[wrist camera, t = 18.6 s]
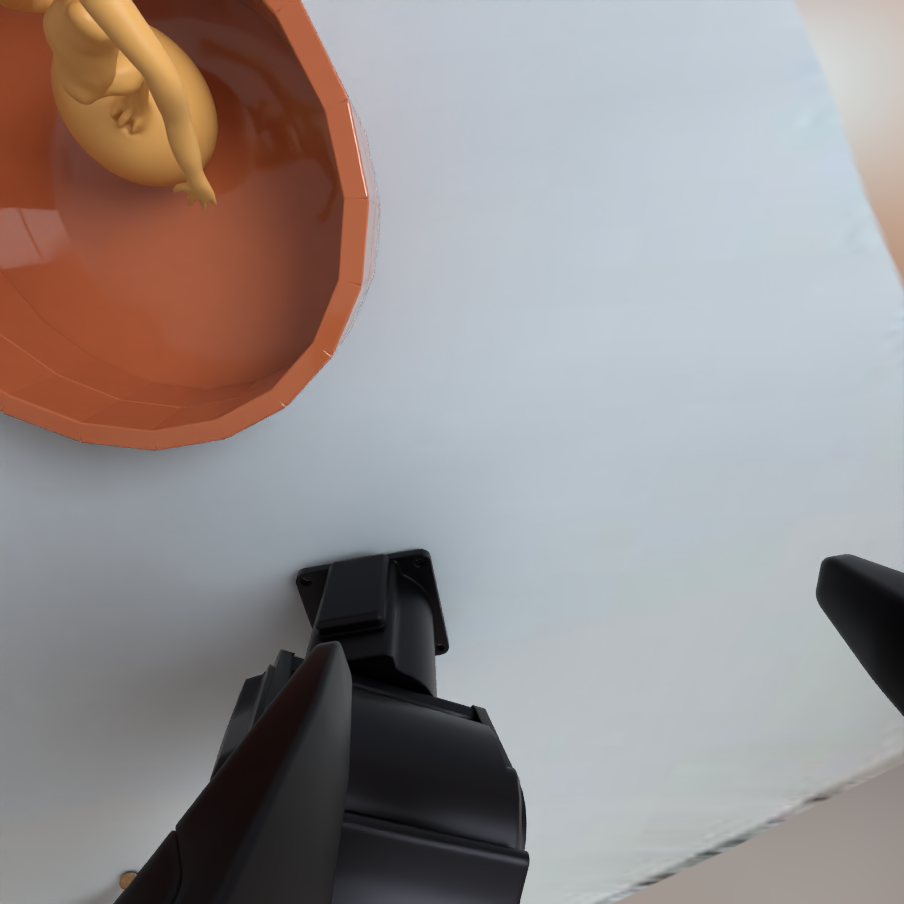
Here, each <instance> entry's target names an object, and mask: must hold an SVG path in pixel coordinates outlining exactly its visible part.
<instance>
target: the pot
mask: <svg viewBox="0 0 904 904" xmlns="http://www.w3.org/2000/svg"><path fill="white" fill-rule="evenodd" d="M132 2H133V3H134V4H135V6H136V7H137V9H138V10H139V12H140V13H141V15H142V16H143V18H144V19H145V21H146V22H147V24H148V25H150V26H152V27H154V28H156V29H157V30H159V31H160V32H162V33H163V34H165V35H166V36H168V37H169V38H170V39H171V40H173V41H174V42H175V43H176V44H177V45H178V46H179V47H180V48H182V49H183V51H184V52H185V53H186V54H187V55H188V56H189V57H190V58H191V60H192V61H193V62H194V63H195V65H196V66H197V68H198V69H199V71H200V72H201V74H202V76H203V77H204V79H205V81H206V83H207V85H208V87H209V90H210V92H211V95H212V97H213V100H214V104H215V108H216V113H217V121H218V134H217V141H216V146H215V149H214V152H213V155H212V157H211V159H210V160H209V162H208V164H207V165H206V166H205V168H204V169H203V172H204V174H205V176H206V178H207V180H208V182H209V184H210V186H211V188H212V189H213V191H214V194H215V199H216V202H217V206H216V207H215V206H214V205H213V204H212V203H211V202H207V206H206V209H204V210H203V209H202V208H201V205H200V201H194V203H193V204H192V205H191V206H188V204H187V203H188V193H186V192H184V191H179V192H174V191H173V189H174V187H175V186H176V185H174V186H168V187H153V186H146V185H141V184H137V183H134V182H131V181H128V180H126V179H124V178H121V177H119V176H117V175H116V174H114V173H112V172H110V171H109V170H107V169H106V168H104V167H103V166H102V165H100V164H99V163H98V162H96V161H95V160H94V159H93V158H92V157H91V156H90V155H89V154H88V153H86V151H85V150H84V149H83V148H82V147H81V146H80V145H79V144H78V142H77V141H76V140H75V139H74V137H73V136H72V135H71V133H70V132H69V130H68V128H67V127H66V125H65V123H64V121H63V119H62V117H61V115H60V113H59V111H58V108H57V105H56V102H55V99H54V95H53V91H52V84H51V64H52V58H53V52H52V50H51V48H50V46H49V44H48V41H47V39H46V36H45V33H44V29H43V18H44V14H45V13H33V12H23V11H18V10H14V9H9V8H6V7H3V6H1V5H0V411H2V412H3V413H4V414H7V415H9V416H12V417H15V418H17V419H20V420H23V421H25V422H28V423H31V424H33V425H36V426H39V427H42V428H44V429H47V430H50V431H52V432H55V433H58V434H60V435H63V436H66V437H68V438H71V439H74V440H77V441H81V442H83V443H92V444H101V445H110V446H119V447H128V448H137V449H145V450H154V451H155V450H164V449H169V448H175V447H181V446H187V445H193V444H199V443H205V442H210V441H216V440H222V439H226V438H229V437H231V436H233V435H235V434H237V433H239V432H241V431H242V430H244V429H246V428H248V427H250V426H252V425H254V424H256V423H258V422H259V421H261V420H263V419H265V418H267V417H269V416H271V415H273V414H274V413H276V412H278V411H280V410H282V409H284V408H285V407H286V406H287V405H289V404H290V403H291V402H292V401H293V399H294V398H295V397H296V396H297V395H298V394H299V393H300V392H301V391H302V390H303V388H304V387H305V386H306V385H307V384H308V383H309V382H310V381H311V380H312V379H313V377H314V376H315V375H316V374H317V373H318V372H319V371H320V370H321V369H322V368H323V367H324V365H325V364H326V363H327V362H328V361H329V360H330V359H331V358H332V356H333V355H334V353H335V352H336V350H337V349H338V347H339V346H340V344H341V343H342V342H343V340H344V339H345V337H346V336H347V334H348V333H349V331H350V330H351V328H352V326H353V323H354V321H355V319H356V316H357V314H358V312H359V309H360V307H361V306H362V303H363V300H364V298H365V295H366V293H367V290H368V288H369V286H370V283H371V281H372V279H373V276H374V275H373V274H374V271H375V260H376V254H377V244H378V235H379V216H380V208H379V207H380V203H379V198H378V192H377V187H376V180H375V173H374V169H373V165H372V161H371V156H370V151H369V146H368V141H367V136H366V133H365V129H364V127H363V125H362V123H361V121H360V119H359V117H358V115H357V113H356V111H355V109H354V107H353V105H352V103H351V101H350V99H349V97H348V95H347V93H346V91H345V89H344V87H343V85H342V83H341V81H340V79H339V77H338V75H337V72H336V70H335V68H334V66H333V64H332V62H331V60H330V58H329V56H328V54H327V52H326V50H325V48H324V46H323V44H322V42H321V40H320V38H319V36H318V34H317V32H316V30H315V28H314V26H313V24H312V22H311V20H310V18H309V16H308V14H307V12H306V10H305V8H304V6H303V4H302V1H301V0H132ZM186 182H187V181H186Z"/></svg>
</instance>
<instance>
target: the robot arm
mask: <svg viewBox="0 0 904 904" xmlns="http://www.w3.org/2000/svg"><path fill="white" fill-rule="evenodd" d="M419 558H422V559H424V561H423V562H418V561H416V560H417V559H419ZM303 578H309V579H311V581H306V580H304V579H303ZM296 585H297V588H298V590H299V593H300V596H301V599H302V601H303V604H304V607H305V610H306V613H307V615H308V618H309V621H310V624H311V626H312V629H313V630H312V634H311V638H310V642H309V646H308V649H307V653H306V657H305V659H302V658H298V657H295V656H294V655H295V653H291V652H288V651H285V650H280V652H279V654H278V657H277V659H276V661H275V663H274V665H273V666H272V665H269V667H268V669H267V671H266V672H264V674H262V675H259V676H256V677H252V678H249V679H246V680H245V683H244V685H243V687H242V690H241V692H240V695H239V697H238V700H237V703H236V705H235V708H234V710H233V713H232V716H231V718H230V721H229V724H228V726H227V729H226V732H225V734H224V737H223V740H222V743H221V746H220V749H219V753H218V756H217V759H216V762H215V765H214V768H213V771H212V775H211V778H210V782H209V783H208V785H207V786H206V787H205V789H204V790H203V791H202V792H201V794H200V795H199V796H198V798H197V799H196V800H195V801H194V803H193V804H192V805H191V807H190V808H189V809H188V810H187V812H186V813H185V814H184V816H183V817H182V818H181V819H180V821H179V822H178V823H177V825H176V831H175V830H173V831H171V832H170V833H169V835H168V836H167V837H166V838H165V840H164V841H163V842H162V844H161V845H160V846H159V847H158V849H157V850H156V851H155V853H154V854H153V855H152V856H151V858H150V859H149V860H148V861H147V863H146V864H145V865H144V866H143V868H142V869H141V870H140V871H139V873H138V874H137V875H136V876H135V878H134V879H133V880H132V881H131V883H130V884H129V885H128V886H127V888H126V889H125V890H124V891H123V893H122V894H121V895H120V896H119V897H118V899H117V900H116V901H115V902H114V903H113V904H520V899H521V895H522V891H523V887H524V883H525V879H526V875H527V871H528V867H529V854H528V852H527V851H524V850H525V843H526V808H525V802H524V796H523V791H522V789H521V786H520V780H519V777H518V775H517V773H516V770H515V769H514V768H513V767H512V765H511V763H510V761H509V759H508V757H507V755H506V752H505V750H504V748H503V746H502V744H501V742H500V740H499V737H498V735H497V733H496V731H495V729H494V727H493V725H492V722H491V720H490V718H489V716H488V714H487V712H486V710H485V709H484V708H481V707H477V706H474V705H472V706H471V707H468V706H464V705H461V704H457V703H454V702H450V701H447V700H444V699H440V698H437V689H436V667H435V656H436V655H442V654H445V653H446V652H447V651H448V649H449V642H448V636H447V631H446V627H445V622H444V617H443V613H442V608H441V603H440V598H439V594H438V589H437V584H436V580H435V575H434V570H433V565H432V561H431V556H430V554H429V552H427V551H426V550H423V549H417V550H411V551H405V552H399V553H393V554H387V555H383V554H381V555H375V556H369V557H364V558H358V559H352V560H346V561H340V562H334V563H333V564H328V565H323V566H317V567H311V568H305V569H302V570H301V571H300V572H299V573H298V576H297V578H296ZM816 598H817V601H818V603H819V605H820V607H821V608H822V610H823V611H824V612H825V614H826V615H827V617H828V618H829V619H830V621H831V622H832V624H833V625H834V626H835V628H836V629H837V631H838V632H839V633H840V635H841V636H842V638H843V639H844V640H845V642H846V643H847V645H848V646H849V647H850V649H851V650H852V652H853V653H854V654H855V656H856V657H857V659H858V660H859V661H860V663H861V664H862V666H863V667H864V668H865V670H866V671H867V672H868V674H869V675H870V676H871V678H872V679H873V680H874V682H875V683H876V684H877V685H878V687H879V688H880V689H881V690H882V692H883V693H884V694H885V695H886V696H887V698H888V699H889V700H890V701H891V702H892V703H893V705H894V706H895V707H896V708H897V709H898V710H899V712H900V713H901V714H902V715H903V716H904V573H902V572H899V571H897V570H894V569H891V568H888V567H885V566H882V565H879V564H877V563H874V562H871V561H868V560H865V559H862V558H859V557H857V556H854V555H849V554H843V555H838V556H832V557H827V558H825V559H824V560H823V561H822V563H821V567H820V572H819V577H818V583H817V588H816ZM437 644H442V645H440V646H439V645H437Z"/></svg>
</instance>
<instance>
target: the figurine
mask: <svg viewBox="0 0 904 904" xmlns="http://www.w3.org/2000/svg"><path fill="white" fill-rule="evenodd" d="M0 5H1V6H3V7H6V8H9V9H14V10H18V11H23V12H33V13H45V14H44V18H43V29H44V33H45V36H46V39H47V41H48V44H49V46H50V48H51V50H52V52H53V58H52V64H51V84H52V91H53V95H54V99H55V102H56V105H57V108H58V111H59V113H60V115H61V117H62V119H63V121H64V123H65V125H66V127H67V128H68V130H69V132H70V133H71V135H72V136H73V137H74V139H75V140H76V141H77V142H78V144H79V145H80V146H81V147H82V148H83V149H84V150H85V151H86V153H88V154H89V155H90V156H91V157H92V158H93V159H94V160H95V161H96V162H98V163H99V164H100V165H102V166H103V167H104V168H106V169H107V170H109V171H110V172H112V173H114V174H116V175H117V176H119V177H121V178H124V179H126V180H128V181H131V182H134V183H137V184H141V185H146V186H153V187H168V186H174V185H176V186H175V187H174V189H173V191H174V192H179V191H184V192H186V193H188V203H187V204H188V206H191V205H192V204H193V203H194V201H200V205H201V208H202V209H203V210H204V209H206V206H207V202H211V203H212V204H213V205H214V206H215V207H216V206H217V202H216V199H215V194H214V191H213V189H212V188H211V186H210V184H209V182H208V180H207V178H206V176H205V174H204V172H203V169H204V168H205V166H206V165H207V164H208V162H209V160H210V159H211V157H212V155H213V152H214V149H215V146H216V141H217V134H218V121H217V113H216V108H215V104H214V100H213V97H212V95H211V92H210V90H209V87H208V85H207V83H206V81H205V79H204V77H203V76H202V74H201V72H200V71H199V69H198V68H197V66H196V65H195V63H194V62H193V61H192V60H191V58H190V57H189V56H188V55H187V54H186V53H185V52H184V51H183V49H182V48H180V47H179V46H178V45H177V44H176V43H175V42H174V41H173V40H171V39H170V38H169V37H168V36H166V35H165V34H163V33H162V32H160V31H159V30H157V29H156V28H154V27H152V26H150V25H148V24H147V22H146V21H145V19H144V18H143V16H142V15H141V13H140V12H139V10H138V9H137V7H136V6H135V4H134V3H133V2H132V0H0ZM186 181H187V182H186Z"/></svg>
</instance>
